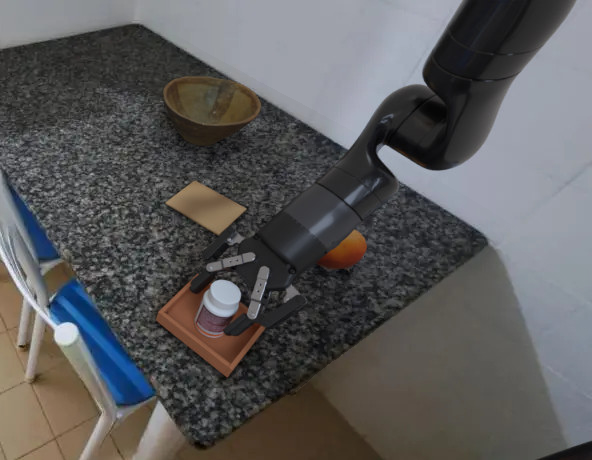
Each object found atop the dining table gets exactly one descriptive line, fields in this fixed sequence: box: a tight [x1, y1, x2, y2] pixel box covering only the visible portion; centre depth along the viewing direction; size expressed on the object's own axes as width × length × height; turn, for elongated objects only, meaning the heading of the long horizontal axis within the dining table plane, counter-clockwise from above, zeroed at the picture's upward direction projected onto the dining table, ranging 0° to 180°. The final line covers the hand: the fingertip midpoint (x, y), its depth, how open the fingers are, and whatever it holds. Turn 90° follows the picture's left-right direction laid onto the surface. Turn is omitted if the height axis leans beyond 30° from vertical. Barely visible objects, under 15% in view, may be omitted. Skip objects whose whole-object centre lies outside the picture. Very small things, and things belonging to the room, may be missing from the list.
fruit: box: [315, 228, 368, 274], centre depth 65 cm, size 8×8×8 cm
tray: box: [155, 273, 266, 378], centre depth 57 cm, size 12×10×2 cm
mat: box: [165, 180, 247, 237], centre depth 76 cm, size 12×10×1 cm
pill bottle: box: [194, 279, 242, 338], centre depth 55 cm, size 5×5×8 cm
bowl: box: [162, 75, 262, 147], centre depth 90 cm, size 22×23×10 cm
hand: (209, 311), depth 54 cm, fingers open, 7 cm apart
